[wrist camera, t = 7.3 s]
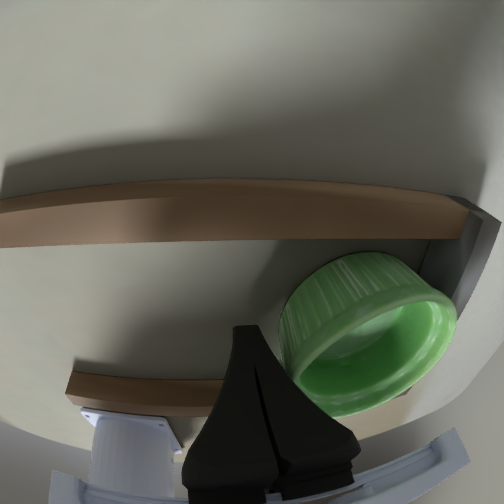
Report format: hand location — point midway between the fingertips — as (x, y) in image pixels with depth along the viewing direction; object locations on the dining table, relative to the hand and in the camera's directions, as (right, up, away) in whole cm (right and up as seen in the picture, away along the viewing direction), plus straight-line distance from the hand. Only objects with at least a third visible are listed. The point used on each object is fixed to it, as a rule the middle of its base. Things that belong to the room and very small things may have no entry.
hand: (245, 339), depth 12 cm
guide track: (0, +1, +1) cm, 1 cm away
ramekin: (+5, +1, +2) cm, 6 cm away
